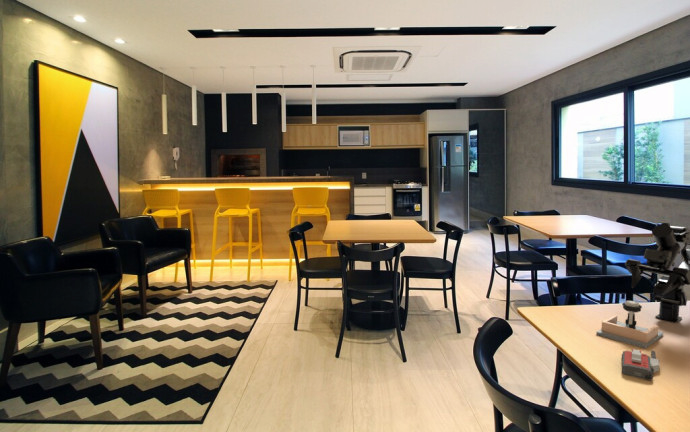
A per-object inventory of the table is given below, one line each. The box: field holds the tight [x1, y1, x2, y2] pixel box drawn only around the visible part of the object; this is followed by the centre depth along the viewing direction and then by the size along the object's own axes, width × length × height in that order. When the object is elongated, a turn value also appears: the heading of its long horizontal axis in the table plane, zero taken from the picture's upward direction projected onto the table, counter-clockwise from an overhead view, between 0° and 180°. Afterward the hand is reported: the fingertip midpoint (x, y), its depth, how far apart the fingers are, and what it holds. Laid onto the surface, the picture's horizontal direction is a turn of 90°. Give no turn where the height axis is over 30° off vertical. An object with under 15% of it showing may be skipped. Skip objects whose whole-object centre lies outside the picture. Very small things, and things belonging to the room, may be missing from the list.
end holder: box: [595, 314, 664, 349], centre depth 140 cm, size 16×14×4 cm
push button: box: [622, 300, 643, 329], centre depth 140 cm, size 7×5×10 cm
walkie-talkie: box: [621, 348, 660, 381], centre depth 119 cm, size 9×4×20 cm
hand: (647, 290), depth 145 cm, fingers open, 9 cm apart
